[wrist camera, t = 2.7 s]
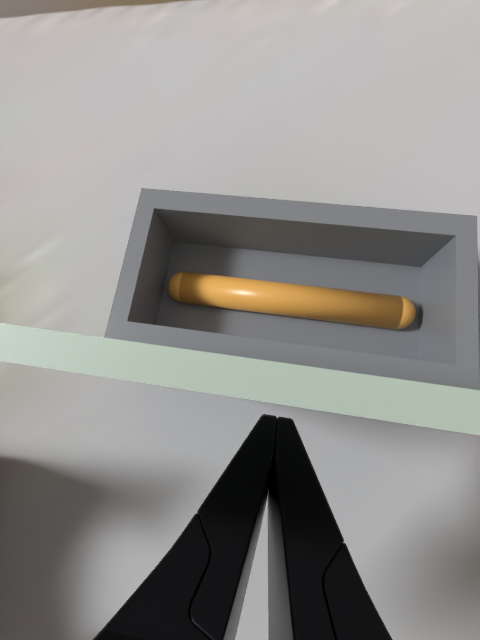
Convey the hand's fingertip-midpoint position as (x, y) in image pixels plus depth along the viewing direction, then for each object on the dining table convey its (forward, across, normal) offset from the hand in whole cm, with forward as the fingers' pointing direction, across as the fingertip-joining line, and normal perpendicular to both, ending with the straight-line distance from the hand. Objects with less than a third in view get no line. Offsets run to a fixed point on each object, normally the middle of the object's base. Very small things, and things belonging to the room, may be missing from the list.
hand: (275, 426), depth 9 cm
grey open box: (+13, 0, +3) cm, 13 cm away
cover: (+2, 0, 0) cm, 2 cm away
